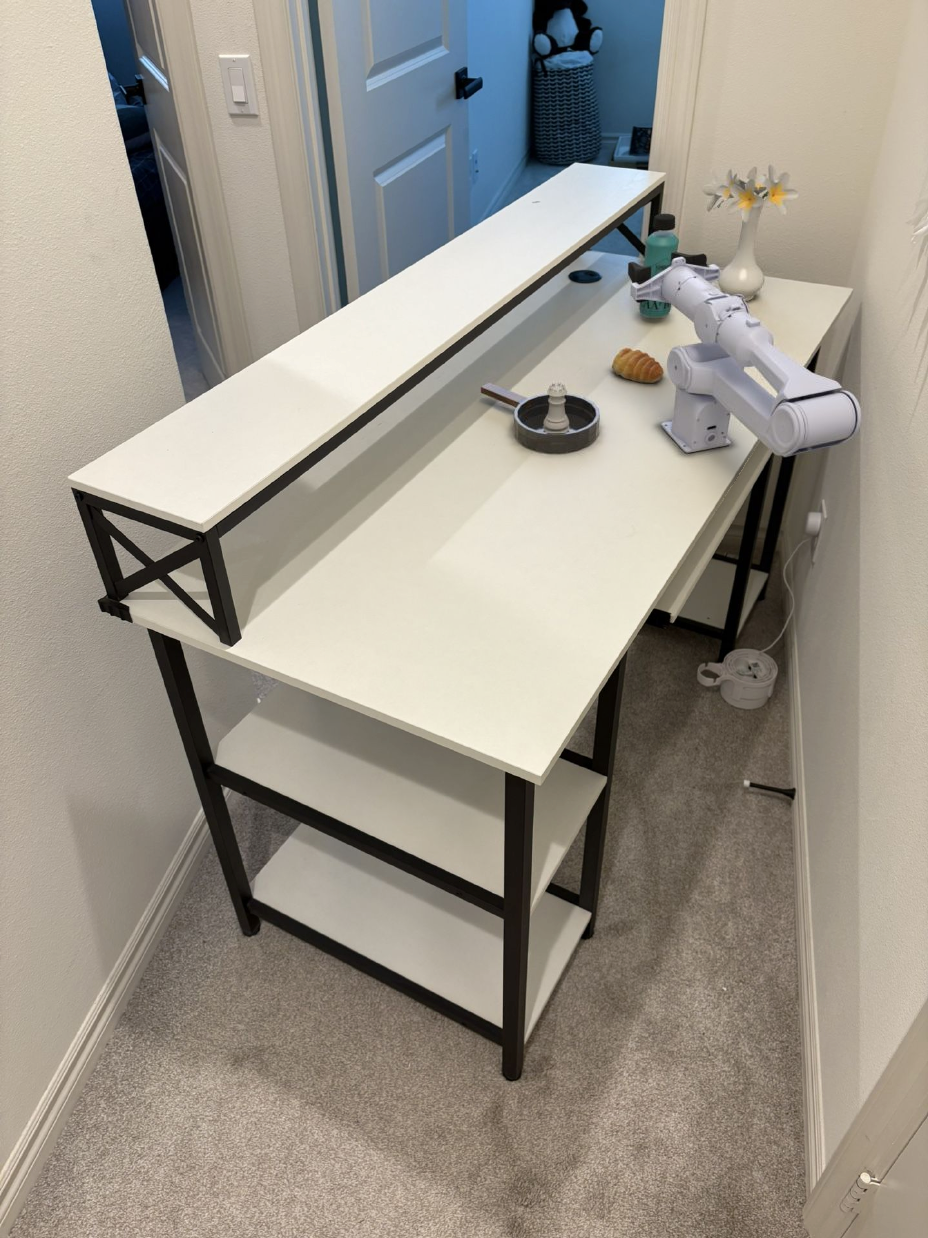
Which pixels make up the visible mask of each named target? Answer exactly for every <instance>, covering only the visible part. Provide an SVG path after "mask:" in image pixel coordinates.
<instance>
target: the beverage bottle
mask: <svg viewBox="0 0 928 1238" xmlns="http://www.w3.org/2000/svg"><path fill="white" fill-rule="evenodd" d="M652 228H653V229H654V230H655V231H654V232H652V233H651V234H650V235H649V236H648V237H646V239H645V249H644V258H643V259H644V262H643V267H648V266H651V278H653V277H654V276H656V275H657V274H659V273H661V272H662V271H664V270H666V269H667V268H669V267H670V266H671V265H670V264H671V253H672V252H678V249H679V242H680V240H679V238H678V236H677V235H676V234H674V232H671V231H673V230H674V229H675V228H676V216H675V215H674V214H671V213H657V214H656V215H655V216H654V219H653V223H652ZM672 307H673V306H672V304H670V303H666V302H660V301H653V300H648V301H646V302H641V303H639V304H638V309H639V313H640V314H641V315H642V316H643V317H644V316H645V317H648V318H663V317H666V316H668V315H669V314H670V312H671V311H672Z"/></svg>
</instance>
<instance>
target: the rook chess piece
mask: <svg viewBox="0 0 928 1238" xmlns="http://www.w3.org/2000/svg"><path fill="white" fill-rule="evenodd" d="M547 393H548V395H549V396H550V398H549V400H548V401H549V411H548V415H547V416H546V418H545V420H544V422H543V423H544V426H543V430H544V431H545V432H547V433H567V432H568V431H569V428H570V427H569V420H568V418H567V415H566V414H565V408H564V402H565V401H566V400H565V398H564V396H565V395H566V394H568V390H567V388H566V386H565V384H564V383H562V384H561V382H557V384H556V383H555V382H553V383H551V384H549V388H548V389H547V392H546V394H547Z"/></svg>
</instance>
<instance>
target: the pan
mask: <svg viewBox="0 0 928 1238" xmlns="http://www.w3.org/2000/svg"><path fill="white" fill-rule="evenodd" d="M527 398H528V399H526V400H524V401H523V402H521V403H520V404H519V405H518V406H517V407H516V408H515V409H514V410H513V435H514V436H515V438H516V439H517V441H518V442H519V443H521V444H522V445H523V446H525V447H526V448H529V449H530V450H533V451H536V452H541V453H546V454H566V453H572V452H576V451H579V450H582V449H584V448H587V447H588V446H590V445H591V444H592V443H593V442H594V441H595V440H596V439H597V437H598V435H599V434H600V421H601V420H600V418H601V417H600V416H601V415H600V409H599V407H598V406H597V405H596V404H595V402H593V401H592V400H590V399H588V398H586V397H584V396H580V395H577V394H574V393H573V394H572V393H567V394H566V395H565V396H564V398H565V400H566V401H565V402H564V408H565V414H566V415H567V418H568V420H569V427H570V428H569V431H568V432H567V433H547V432H545V431H544V430H543V426H544V423H543V422H544V420H545V418H546V416H547V415H548V411H549V401H548V400H549V398H550V396H549V395H548V393H547V392H546V393H542V394H535V395H534V396H531V397H527ZM528 401H530V407H529V408H527V409H526V403H527V402H528Z"/></svg>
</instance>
